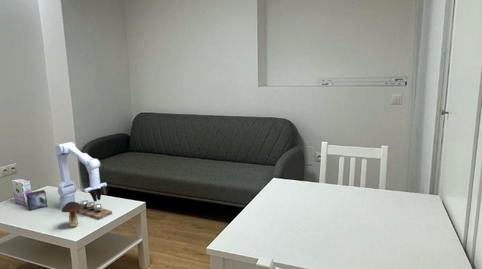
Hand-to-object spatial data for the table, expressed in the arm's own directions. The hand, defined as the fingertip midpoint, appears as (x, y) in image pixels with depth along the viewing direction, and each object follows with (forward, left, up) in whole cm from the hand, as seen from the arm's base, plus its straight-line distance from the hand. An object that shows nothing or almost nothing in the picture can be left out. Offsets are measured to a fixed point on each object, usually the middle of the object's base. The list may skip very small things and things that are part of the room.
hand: (97, 200), depth 216 cm
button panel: (-6, 0, -9) cm, 11 cm away
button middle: (-7, 0, -7) cm, 10 cm away
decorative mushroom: (+2, -18, -10) cm, 20 cm away
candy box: (-65, -11, -10) cm, 67 cm away
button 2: (0, 0, -7) cm, 7 cm away
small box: (-48, -11, -10) cm, 50 cm away
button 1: (-13, 0, -7) cm, 15 cm away
